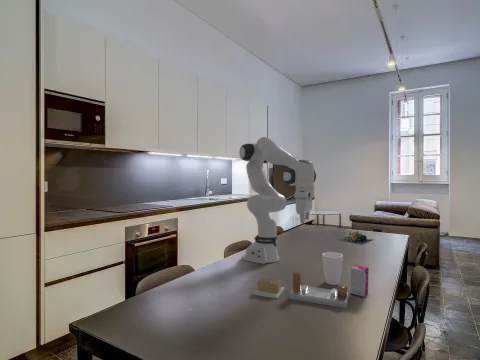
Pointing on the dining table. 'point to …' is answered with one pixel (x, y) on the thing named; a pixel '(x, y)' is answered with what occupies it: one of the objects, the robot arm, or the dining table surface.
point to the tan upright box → (269, 285)
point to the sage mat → (269, 293)
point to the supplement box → (359, 281)
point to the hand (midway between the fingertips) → (304, 221)
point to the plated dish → (356, 238)
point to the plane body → (318, 293)
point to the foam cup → (332, 267)
